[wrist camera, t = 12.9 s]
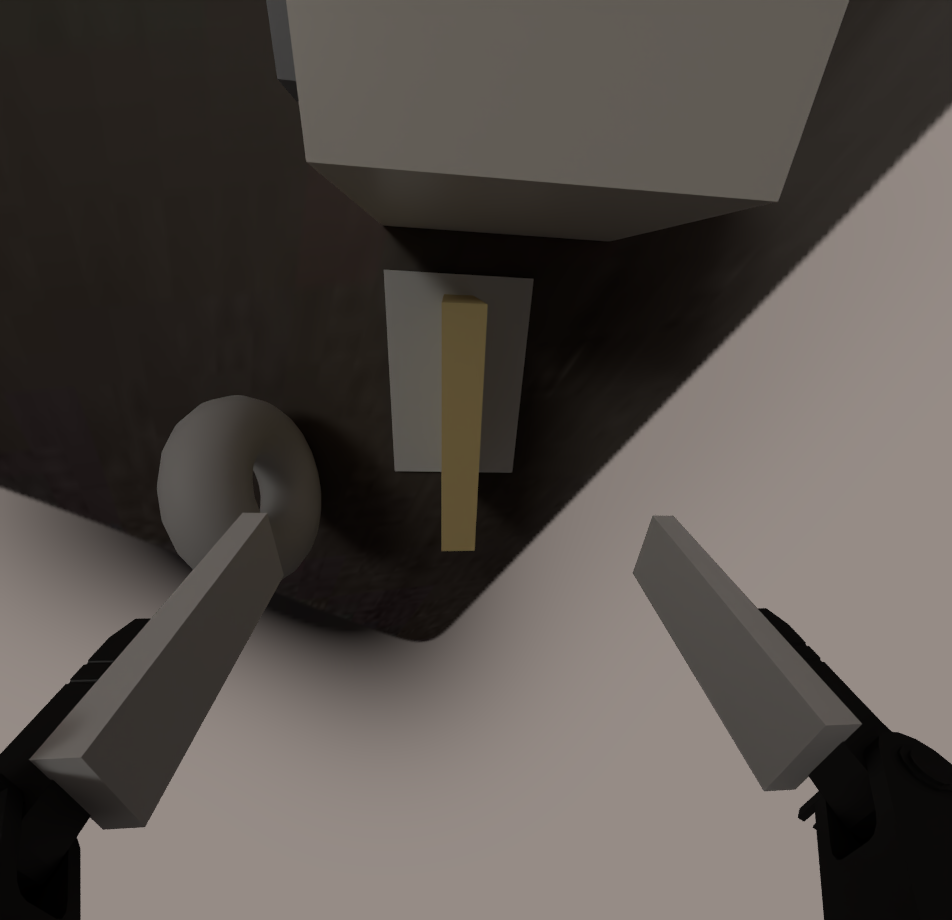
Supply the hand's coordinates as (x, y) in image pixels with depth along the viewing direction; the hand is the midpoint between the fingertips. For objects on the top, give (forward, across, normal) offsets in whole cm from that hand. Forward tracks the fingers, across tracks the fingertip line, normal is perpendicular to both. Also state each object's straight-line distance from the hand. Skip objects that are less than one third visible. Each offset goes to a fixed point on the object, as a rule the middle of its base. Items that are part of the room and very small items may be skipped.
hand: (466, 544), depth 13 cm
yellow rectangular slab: (+12, 0, +2) cm, 12 cm away
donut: (+12, -11, -2) cm, 16 cm away
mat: (+12, 0, +2) cm, 12 cm away
